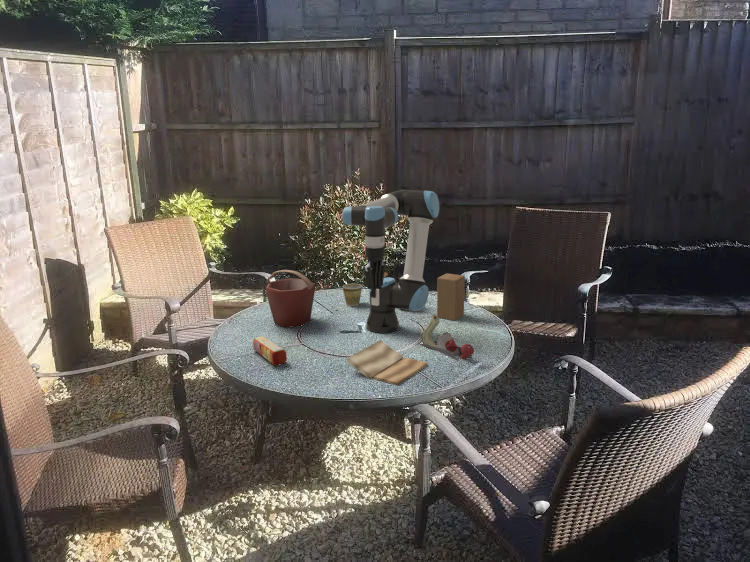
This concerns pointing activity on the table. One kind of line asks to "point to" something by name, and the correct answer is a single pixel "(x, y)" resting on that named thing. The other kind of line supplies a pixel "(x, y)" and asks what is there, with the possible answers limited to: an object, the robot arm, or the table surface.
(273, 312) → the bucket
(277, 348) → the snack package
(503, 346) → the table surface
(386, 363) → the ash plank
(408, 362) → the oak plank
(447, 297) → the wooden block
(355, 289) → the ceramic cup
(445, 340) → the hand plane
